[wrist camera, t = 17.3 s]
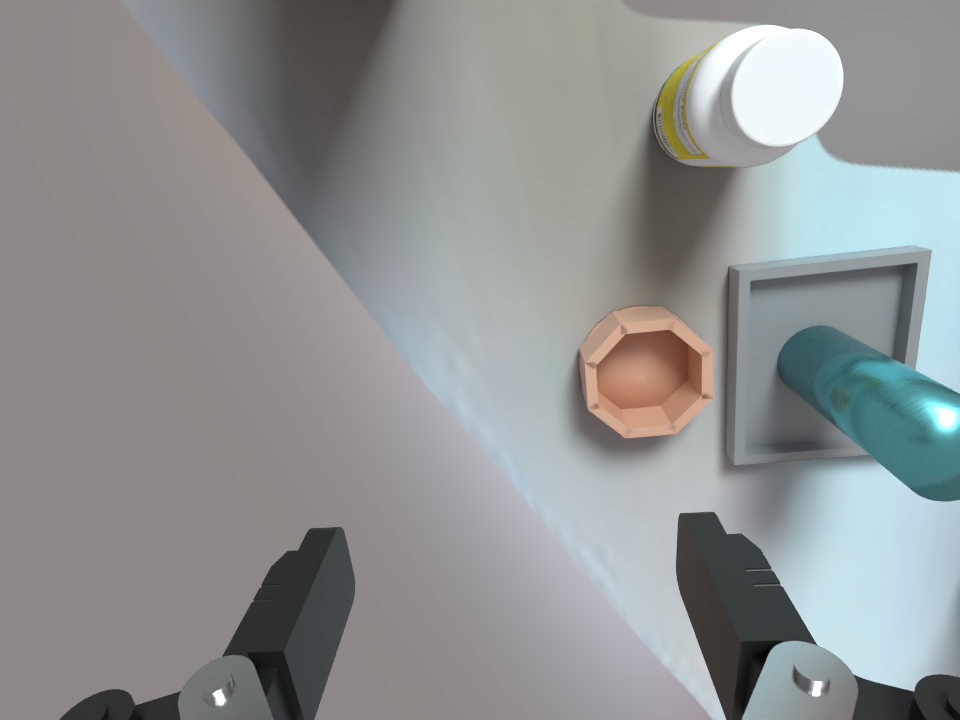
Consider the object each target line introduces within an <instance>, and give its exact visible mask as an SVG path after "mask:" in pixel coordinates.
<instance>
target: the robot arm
mask: <svg viewBox="0 0 960 720" xmlns="http://www.w3.org/2000/svg"><path fill="white" fill-rule="evenodd" d="M676 574H677V581H678V586H679V590H680V594H681V597H682V599H683V602H684V605H685V607H686V610H687V613H688V616H689V618H690V621H691V624H692V627H693V629H694V632H695V635H696V638H697V640H698V643H699V646H700V649H701V651H702V654H703V657H704V659H705V662H706V665H707V668H708V670H709V673H710V676H711V679H712V681H713V684H714V687H715V690H716V692H717V695H718V698H719V700H720V703H721V706H722V709H723V711H724V714H725V717H726V720H960V678H959V677H955V676H950V675H941V674H940V675H930V676H926V677H924V678H922V679H921V680H920V681H919V682H918V683H917V685H916V687H915V690H914V692H913V691H909V690H905V689H901V688H897V687H892V686H888V685H884V684H880V683H876V682H872V681H869V680H866V679H863V678H860V677H858V676H856V675H854V674H853V673H852V672H851V670H850V669H849V668H848V666H847V665H846V664H845V663H844V662H843V661H842V660H841V659H839V658H838V657H837V656H835V655H834V654H833V653H831V652H829V651H828V650H826V649H824V648H822V647H820V646H818V645H817V644H816V642H815V641H814V639H813V637H812V636H811V634H810V632H809V630H808V629H807V627H806V625H805V624H804V622H803V620H802V619H801V617H800V615H799V614H798V612H797V610H796V609H795V607H794V605H793V604H792V602H791V600H790V598H789V597H788V595H787V593H786V592H785V590H784V588H783V587H781V585H780V582H779V580H778V578H777V577H776V575H775V573H774V572H773V571H772V570H771V566H770V565H769V563H768V561H767V560H766V558H765V556H764V555H763V553H762V551H761V550H760V549H759V548H758V547H757V546H756V545H754V544H753V543H752V542H751V541H750V540H748V539H747V538H746V537H745V536H743V535H742V534H726V532H725V530H724V528H723V526H722V525H721V523H720V521H719V519H718V517H717V515H716V514H715V513H714V512H699V513H681V514H680V515H679V518H678V535H677V555H676ZM354 594H355V578H354V572H353V568H352V564H351V559H350V554H349V550H348V546H347V541H346V537H345V533H344V530H343V529H342V528H341V527H332V528H312V529H310V530H309V531H308V532H307V534H306V536H305V538H304V540H303V542H302V544H301V546H300V548H299V550H298V551H287V552H286V553H285V554H284V555H283V556H282V557H281V558H280V559H279V560H278V561H277V562H276V563H275V564H274V565H273V566H272V567H271V568H270V570H269V572H268V574H267V575H266V577H265V579H264V581H263V583H262V587H261V588H260V589H259V590H258V592H257V594H256V596H255V598H254V602H253V603H251V605H250V607H249V609H248V610H247V612H246V614H245V616H244V618H243V619H242V621H241V623H240V625H239V627H238V629H237V630H236V632H235V634H234V636H233V638H232V640H231V642H230V643H229V645H228V647H227V649H226V651H225V652H224V654H223V656H222V657H221V658H218V659H215V660H213V661H211V662H209V663H208V664H206V665H204V666H203V667H201V668H200V669H199V670H198V671H196V672H195V673H194V674H193V675H192V676H191V677H190V678H189V680H188V681H187V682H186V684H185V685H184V687H183V689H182V690H181V691H180V692H177V693H174V694H171V695H168V696H165V697H161V698H158V699H155V700H152V701H148V702H145V703H142V704H139V705H135V703H134V701H133V699H132V697H131V695H130V694H129V693H128V692H126V691H124V690H119V689H112V690H106V691H103V692H99V693H97V694H94V695H92V696H90V697H88V698H86V699H84V700H83V701H81V702H80V703H78V704H77V705H76V706H74V707H73V708H71V709H70V710H69V711H68V712H67V713H66V714H65V715H63V717H62V718H61V719H60V720H314V719H315V715H316V713H317V710H318V707H319V704H320V700H321V697H322V694H323V691H324V688H325V685H326V682H327V679H328V676H329V673H330V670H331V667H332V664H333V661H334V658H335V655H336V652H337V649H338V646H339V643H340V640H341V637H342V634H343V631H344V628H345V625H346V622H347V619H348V616H349V613H350V610H351V607H352V604H353V600H354Z"/></svg>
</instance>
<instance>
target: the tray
mask: <svg viewBox="0 0 960 720" xmlns="http://www.w3.org/2000/svg"><path fill="white" fill-rule="evenodd" d="M931 252H932V250H930V249H926V248H921V247H917V246H905V247H896V248H887V249H878V250H869V251H860V252H851V253H843V254H834V255H825V256H816V257H807V258H798V259H789V260H780V261H771V262H762V263H753V264H744V265H735V266H729V307H728V355H727V402H726V450H725V453H726V455H727V456H728V458H729V459H730V460H731V462H732V463H733V465H747V464H759V463H772V462H784V461H797V460H810V459H822V458H835V457H847V456H860V455H869V454H868V453H867V452H866V451H864V450H863V449H862V448H861V447H860V446H858V445H857V444H856V443H855V442H854V441H852V440H851V439H850V438H849V437H848V436H846V435H845V434H844V433H843V432H842V431H840V430H839V429H838V428H837V427H836V426H834V425H833V424H832V423H831V422H830V421H828V420H827V419H826V418H825V417H824V416H822V415H821V414H820V413H819V412H818V411H816V410H815V409H814V408H813V407H812V406H810V405H809V404H808V403H807V402H806V401H804V400H803V399H802V398H801V397H800V396H798V395H797V394H796V393H795V392H794V391H792V390H791V389H790V388H789V387H788V386H786V385H785V384H784V383H783V381H782V380H781V378H780V376H779V374H778V369H777V361H778V356H779V353H780V351H781V349H782V347H783V346H784V344H785V343H786V342H787V341H788V340H789V338H791V337H792V336H793V335H794V334H796V333H797V332H799V331H801V330H803V329H805V328H808V327H812V326H819V325H823V326H830V327H834V328H836V329H838V330H840V331H842V332H844V333H846V334H847V335H849V336H851V337H853V338H855V339H857V340H859V341H861V342H863V343H864V344H866V345H868V346H870V347H872V348H874V349H876V350H878V351H880V352H881V353H883V354H885V355H887V356H889V357H891V358H893V359H895V360H897V361H898V362H900V363H902V364H904V365H906V366H908V367H910V368H912V369H914V370H915V367H916V360H917V353H918V346H919V339H920V331H921V324H922V317H923V310H924V303H925V296H926V288H927V281H928V274H929V267H930V260H931Z"/></svg>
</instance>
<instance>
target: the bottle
mask: <svg viewBox="0 0 960 720" xmlns="http://www.w3.org/2000/svg"><path fill="white" fill-rule="evenodd" d="M777 369H778V374H779V376H780V378H781V380H782V381H783V383H784V384H785V385H786V386H788V387H789V388H790V389H791V390H792V391H794V392H795V393H796V394H797V395H798V396H800V397H801V398H802V399H803V400H804V401H806V402H807V403H808V404H809V405H810V406H812V407H813V408H814V409H815V410H816V411H818V412H819V413H820V414H821V415H822V416H824V417H825V418H826V419H827V420H828V421H830V422H831V423H832V424H833V425H834V426H836V427H837V428H838V429H839V430H840V431H842V432H843V433H844V434H845V435H846V436H848V437H849V438H850V439H851V440H852V441H854V442H855V443H856V444H857V445H858V446H860V447H861V448H862V449H863V450H864V451H866V452H867V453H868V454H869V455H870V456H872V457H873V458H874V459H875V460H876V461H878V462H879V463H880V464H881V465H882V466H884V467H885V468H886V469H887V470H888V471H890V472H891V473H892V474H893V475H894V476H896V477H897V478H898V479H899V480H900V481H902V482H903V483H904V484H905V485H906V486H908V487H909V488H910V489H911V490H912V491H914V492H915V493H916V494H918V495H920V496H922V497H924V498H927V499H930V500H935V501H955V500H960V394H959V393H957V392H955V391H953V390H951V389H949V388H947V387H946V386H944V385H942V384H940V383H938V382H936V381H934V380H932V379H930V378H929V377H927V376H925V375H923V374H921V373H919V372H917V371H915V370H914V369H912V368H910V367H908V366H906V365H904V364H902V363H900V362H898V361H897V360H895V359H893V358H891V357H889V356H887V355H885V354H883V353H881V352H880V351H878V350H876V349H874V348H872V347H870V346H868V345H866V344H864V343H863V342H861V341H859V340H857V339H855V338H853V337H851V336H849V335H847V334H846V333H844V332H842V331H840V330H838V329H836V328H834V327H830V326H823V325H819V326H812V327H808V328H805V329H803V330H801V331H799V332H797V333H796V334H794V335H793V336H792V337H791V338H789V340H788V341H787V342H786V343H785V344H784V346H783V347H782V349H781V351H780V353H779V356H778V361H777Z"/></svg>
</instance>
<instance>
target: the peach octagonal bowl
mask: <svg viewBox="0 0 960 720" xmlns="http://www.w3.org/2000/svg"><path fill="white" fill-rule="evenodd" d="M713 353H714V350H713V349H712V348H711V347H710V346H709V345H708V344H707V343H706V342H705V341H703V340H702V339H701V338H700V337H699V336H698V335H697V334H696V333H695V332H693V331H692V330H691V329H690V328H689V327H688V326H687V325H686V324H685V323H684V322H683V321H682V320H681V319H680V318H679V317H677V316H676V315H675V314H673V313H671V312H669V311H668V310H667V309H666V308H664V307H663V306H657V307H654V306H645V305H642V306H632V307H627V308H623V309H620V310H618V311H612V312H611V313H610V314H609V315H608V316H606V317H605V318H604V319H602V320H601V321H600V322H599V323H598V324H597V325H595V326H594V328H593V329H592V330H591V331H590V333H589V334H588V336H587V337H586V339H585V341H584V343H583V344H582V345H581V347H580V358H579V371H580V376H581V380H582V391H583V395H584V398H585V402H586V405H587V408H588V410H589V411H590V412H591V413H593V414H594V415H595V416H597V417H598V418H599V419H601V420H602V421H603V422H605V423H606V424H607V425H609V426H610V427H611V428H612V429H614V430H615V431H616V432H618V433H619V434H620V435H622V436H623V437H624V438H636V437H648V436H659V435H671V434H677V433H678V432H679V431H680V430H681V429H682V428H683V427H684V426H685V425H686V424H687V423H688V422H689V421H690V420H691V419H692V418H693V417H694V416H695V415H696V414H697V413H698V412H700V411H701V410H702V409H703V408H704V407H705V406H706V405H707V404H708V403H709V402H710V401H711V400H712V399H713Z"/></svg>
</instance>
